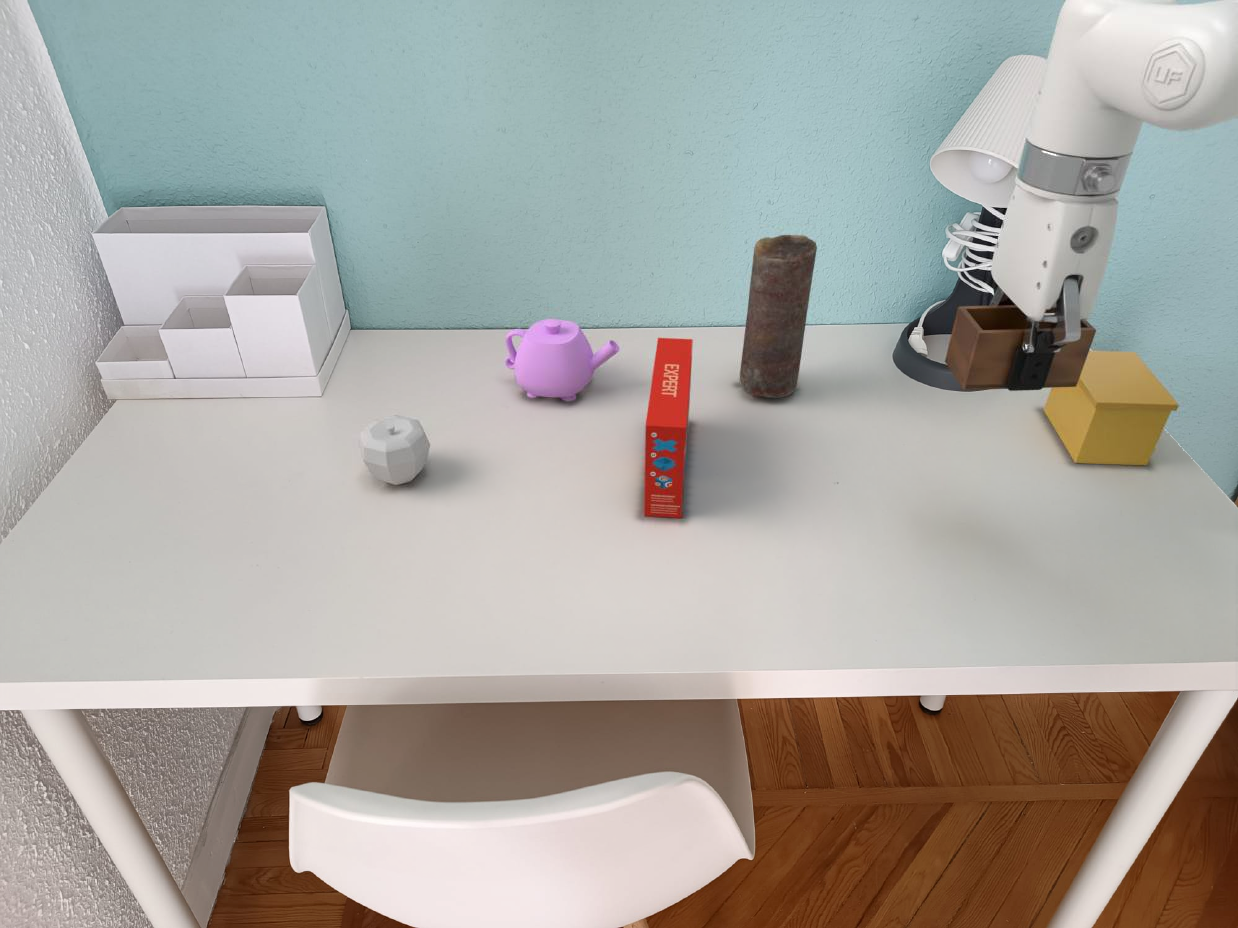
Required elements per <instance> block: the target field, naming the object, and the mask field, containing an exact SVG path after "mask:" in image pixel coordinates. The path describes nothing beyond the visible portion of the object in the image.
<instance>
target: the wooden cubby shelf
mask: <svg viewBox="0 0 1238 928" xmlns="http://www.w3.org/2000/svg"><path fill="white" fill-rule="evenodd" d="M1045 313H1055V308H1051V309H1046V312H1045ZM1026 316H1027V315H1025V314H1024V313H1023V312H1022V311H1021V310H1020V309H1019V308H1018V307H1017V306H1016V305H1000V306H990V305H965V306H963V305H962V306H961V305H960V306H957V311H956V315H955V319H954V323H953V326H952V331H951V335H950V339H949V342H948V347H947V350H946V355H945V359H944V363H945V364H946V366H947V367H948V369H949V370H950V372H951V373H952V375H953V376H954V377H955V379H956V380H957V381H958V383H959V384H960V386H961V387H962V388H963V391H977V390H979V391H981V390H1008V389H1007V387H1006V381H1007V378H1008V374H1009V371H1010V368H1011V364H1012V361H1013V358H1014V354H1015V351H1016V348H1017V347H1022V344H1023V337H1024V330H1025V323H1026ZM1080 322H1081V337H1080V339H1079V340H1077V341H1074V342H1071V343H1069V344H1067V345H1065V346H1063V347H1061V350H1060V351H1059V352H1058V353H1055V355H1054V358H1053V361H1052V364H1051V367H1050V370H1049V373H1048V376H1047V379H1046V382H1045V385H1044V387H1043V388H1042V389H1049V388H1050V389H1051V388H1054V387H1076V386H1077V383H1078V380H1079V378H1080V375H1081V372H1082V369H1083V367H1084V364H1085V361H1086V358H1087V355H1088V353H1089V351H1091V347H1092V345H1093V341H1094V339H1095V335H1096V333H1097V329H1096V328H1095V327H1094V326H1093V325H1092V324H1091V323H1090V322H1089V321H1088V319H1087V320H1082V321H1081V320H1080ZM1050 329H1051V323H1039V326H1038V333H1037V336H1038V335H1039V334H1041V333H1043V332H1044V331H1050Z"/></svg>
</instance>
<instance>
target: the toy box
mask: <svg viewBox="0 0 1238 928" xmlns="http://www.w3.org/2000/svg"><path fill="white" fill-rule="evenodd" d="M693 343H694V339H693V338H675V337H674V338H673V337H672V338H671V337H657V341H656V350H655V357H654V363H653V364H654V365H653V370H652V377H651V384H650V392H649V399H648V406H647V412H646V418H645V419H646V420H645V433H644V434H645V435H644V437H645V439H644V440H645V441H644V498H643V499H644V507H643V508H644V509H643V511H644V512H643V516H644V517H656V518H671V519H682V518H683V509H684V494H685V479H686V467H687V454H688V453H687V451H688V438H689V425H690V423H689V422H690V405H691V385H692V368H693V367H692V364H693V348H694V347H693V345H694V344H693Z"/></svg>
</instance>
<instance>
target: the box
mask: <svg viewBox="0 0 1238 928" xmlns="http://www.w3.org/2000/svg"><path fill="white" fill-rule="evenodd" d="M1179 406H1180V404H1179V403H1178V401H1177V400H1176V399H1175V398H1174V397H1173V395H1171V393H1170V392H1169V391H1168V390H1167V388H1166V387H1165V386H1164V385H1163V384H1162V382H1160V380H1159V379H1158V378H1157V377H1156V376H1155V374H1154V373H1153V372H1152V371H1151V370H1150V368H1149V367H1148V366H1147V365H1146V363H1145V362H1144V361H1143V360H1142V359H1141V358H1140V356H1139V355H1138V354H1137V352H1136V351H1121V350H1120V351H1117V350H1116V351H1114V350H1111V351H1110V350H1089V353H1088V355H1087V358H1086V361H1085V364H1084V367H1083V369H1082V372H1081V375H1080V378H1079V380H1078V383H1077V386H1076V387H1054V388H1050V390H1049V394H1048V396H1047V399H1046V403H1045V406H1044V409H1043V412H1044V414H1045V415H1046V417H1047V418H1048V421H1049V422H1050V423H1051V426H1052V427H1053V430H1055V432H1056V433H1057V436H1058V437H1059V439H1060V440H1061V442H1062V444H1063V445H1064V447H1065V448H1066V450H1067V452H1068V454H1069V455H1070V457H1071V459H1072V460H1073V462H1074V463H1075V464H1089V465H1091V464H1092V465H1122V466H1123V465H1125V466H1148V465H1149V461H1151V458H1152V455H1153V453H1154V451H1155V449H1156V447H1157V444H1158V442H1159V439H1160V437H1161V435H1162V433H1163V431H1164V428H1165V426H1166V424H1167V422H1168V419H1169V417H1170V416H1171V413H1172V411H1173V412H1176V411H1177V410H1178V408H1179Z"/></svg>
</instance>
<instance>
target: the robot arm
mask: <svg viewBox="0 0 1238 928" xmlns="http://www.w3.org/2000/svg"><path fill="white" fill-rule="evenodd" d="M1059 11H1060V12H1059V15H1058V18H1057V21H1056V24H1055V28H1054V32H1053V36H1052V40H1051V44H1050V47H1049V51H1048V55H1047V58H1046V62H1045V67H1044V69H1043V74H1042V78H1041V81H1040V84H1039V89H1038V91H1037V92H1038V93H1037V97H1036V100H1035V103H1034V108H1033V111H1032V112H1033V113H1032V115H1031V118H1030V122H1029V127H1028V131H1027V134H1026V138H1025V141H1024V145H1023V149H1022V153H1021V157H1020V160H1019V164H1018V168H1017V171H1016V175H1015V179H1014V183H1015V187H1014V190H1013V192H1012V194H1011V197H1010V200H1009V203H1008V205H1007V208H1006V211H1005V215H1004V218H1003V220H1002V223H1001V227H1000V230H999V233H998V237H997V240H996V242H995V243H996V244H995V248H994V251H993V256H992V260H991V267H990V273H991V276H992V279H993V283H992V285H991V286H992V290H993V297H992V299H991V301H990V303H989V306H1000V305H1016V306H1017V307H1018V308H1019V309H1020V310H1021V311H1022V312H1023V313H1024V314H1025V315H1027V316H1026V323H1025V330H1024V337H1023V344H1022V347H1017V348H1016V351H1015V354H1014V358H1013V361H1012V364H1011V368H1010V371H1009V374H1008V378H1007V381H1006V387H1007V389H1006V390H1008V391H1010V392H1019V391H1021V392H1022V391H1040V390H1043V389H1044V388H1043V387H1044V385H1045V382H1046V379H1047V376H1048V373H1049V370H1050V367H1051V364H1052V361H1053V358H1054V355H1055V353H1058V352H1059V351H1060V350H1061V347H1063V346H1065V345H1067V344H1069V343H1071V342H1074V341H1077V340H1079V339H1080V337H1081V322H1080V320H1081V321H1082V320H1087V321H1088V319H1089V318H1090V317H1091V315H1092V313H1093V311H1094V308H1095V305H1096V302H1097V299H1098V296H1099V293H1100V289H1101V286H1102V284H1103V280H1104V276H1105V273H1106V268H1107V265H1108V262H1109V257H1110V254H1111V249H1112V246H1113V245H1112V244H1113V239H1114V236H1115V232H1116V231H1115V230H1116V224H1117V219H1118V209H1119V200H1118V199H1117V197H1118V196H1119V194H1120V191H1121V189H1122V185H1123V183H1124V180H1125V176H1126V174H1127V171H1128V168H1129V165H1130V162H1131V159H1132V156H1133V153H1134V150H1135V147H1136V144H1137V141H1138V139H1139V136H1140V132H1141V129H1142V127H1143V123H1146V124H1148V125H1151V126H1153V127H1156V128H1160V129H1163V130H1166V131H1167V130H1168V131H1174V132H1175V131H1176V132H1192V131H1198V130H1202V129H1206V128H1209V127H1213V126H1217V125H1219V124H1222V123H1226V122H1230V121H1232V120H1235V119H1238V0H1213V1H1207V2H1200V3H1189V4H1179V3H1178V0H1065V1H1064V2H1063V4H1062V6H1061V8H1060V10H1059ZM1051 308H1055V313H1045V312H1046V309H1051ZM1039 323H1051V329H1050V331H1044V332H1043V333H1041V334H1039V335H1038V336H1037V333H1038V326H1039Z"/></svg>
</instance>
